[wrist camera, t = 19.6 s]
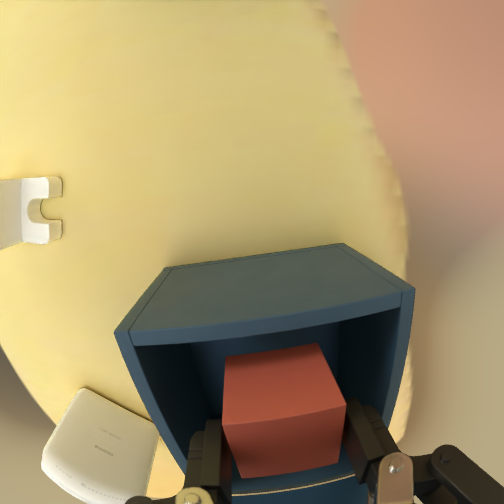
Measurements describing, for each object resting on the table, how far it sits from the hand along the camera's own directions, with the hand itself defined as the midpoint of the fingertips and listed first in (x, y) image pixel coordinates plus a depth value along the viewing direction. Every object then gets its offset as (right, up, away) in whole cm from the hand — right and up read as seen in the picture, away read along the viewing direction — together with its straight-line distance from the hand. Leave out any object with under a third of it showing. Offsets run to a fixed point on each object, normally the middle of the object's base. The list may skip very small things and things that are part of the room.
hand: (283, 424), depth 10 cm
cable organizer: (-22, +12, +8) cm, 26 cm away
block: (0, +1, +3) cm, 3 cm away
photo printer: (-16, -10, +14) cm, 23 cm away
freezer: (0, 0, +12) cm, 12 cm away
